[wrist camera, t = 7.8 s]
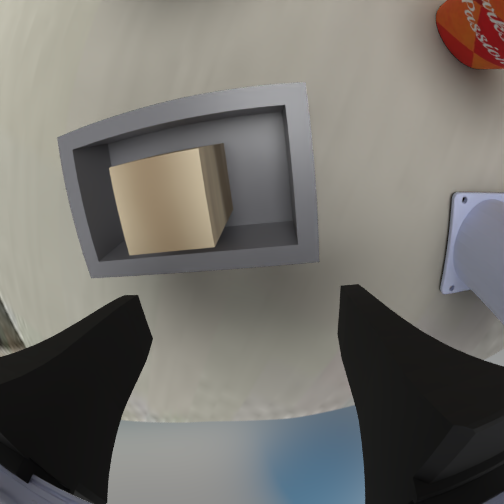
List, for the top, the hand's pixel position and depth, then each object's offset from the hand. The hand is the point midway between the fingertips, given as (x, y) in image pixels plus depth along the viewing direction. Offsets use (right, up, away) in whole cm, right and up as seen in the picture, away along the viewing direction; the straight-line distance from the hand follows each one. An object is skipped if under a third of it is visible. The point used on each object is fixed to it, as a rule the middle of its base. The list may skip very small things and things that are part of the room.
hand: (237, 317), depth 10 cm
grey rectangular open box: (-3, +7, +7) cm, 10 cm away
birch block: (-3, +6, +7) cm, 10 cm away
